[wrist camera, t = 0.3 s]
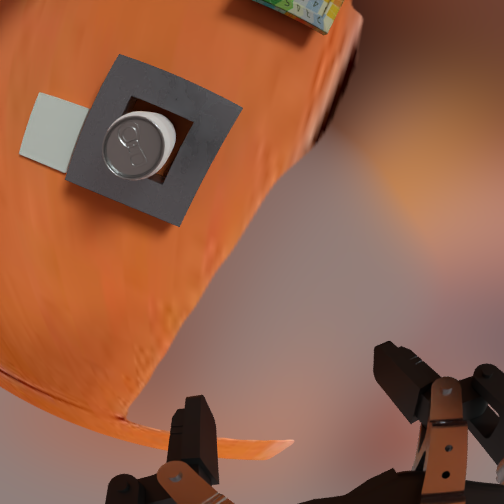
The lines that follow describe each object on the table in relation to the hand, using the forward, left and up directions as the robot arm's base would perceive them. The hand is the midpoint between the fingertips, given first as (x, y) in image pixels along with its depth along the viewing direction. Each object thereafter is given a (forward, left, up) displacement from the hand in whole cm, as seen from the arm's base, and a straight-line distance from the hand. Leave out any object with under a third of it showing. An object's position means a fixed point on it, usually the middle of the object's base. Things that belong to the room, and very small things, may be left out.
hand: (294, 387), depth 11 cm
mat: (-25, -1, -29) cm, 39 cm away
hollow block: (-11, +3, -29) cm, 31 cm away
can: (-11, +3, -29) cm, 32 cm away
